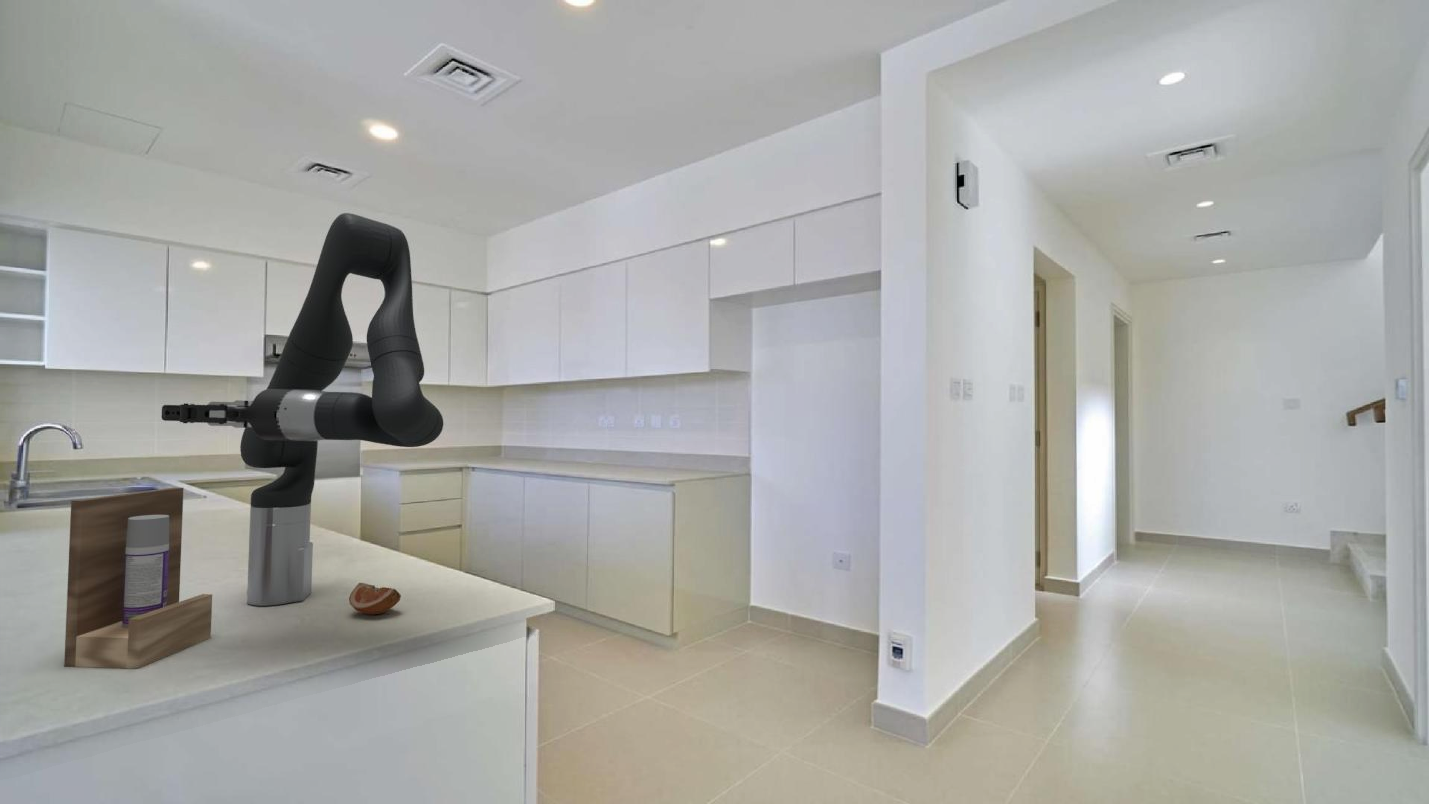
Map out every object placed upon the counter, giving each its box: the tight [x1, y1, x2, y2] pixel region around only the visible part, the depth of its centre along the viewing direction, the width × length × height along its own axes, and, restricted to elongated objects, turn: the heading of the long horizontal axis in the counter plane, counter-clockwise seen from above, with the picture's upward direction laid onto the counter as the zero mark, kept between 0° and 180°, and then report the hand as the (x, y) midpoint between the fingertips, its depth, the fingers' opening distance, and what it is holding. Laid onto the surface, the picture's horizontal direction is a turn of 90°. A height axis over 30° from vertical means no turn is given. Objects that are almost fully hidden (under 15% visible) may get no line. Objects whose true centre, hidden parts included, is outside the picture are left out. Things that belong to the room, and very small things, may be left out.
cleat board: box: [63, 487, 213, 670], centre depth 93 cm, size 10×16×22 cm, turn 179°
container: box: [122, 515, 169, 628], centre depth 91 cm, size 5×5×15 cm
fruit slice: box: [348, 582, 402, 616], centre depth 110 cm, size 8×7×5 cm
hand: (189, 412), depth 94 cm, fingers open, 8 cm apart
